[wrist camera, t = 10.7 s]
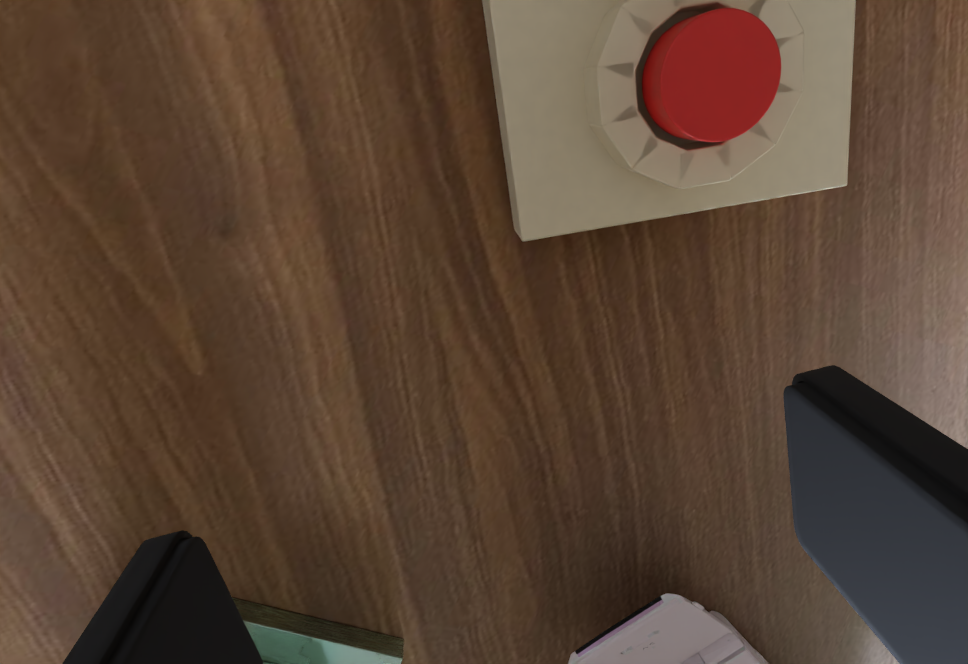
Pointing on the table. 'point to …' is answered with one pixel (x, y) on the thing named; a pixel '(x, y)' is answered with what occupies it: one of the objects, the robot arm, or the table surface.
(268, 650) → the bracket
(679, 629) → the mobile phone
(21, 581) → the table surface
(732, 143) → the button block
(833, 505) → the robot arm
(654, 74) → the button
